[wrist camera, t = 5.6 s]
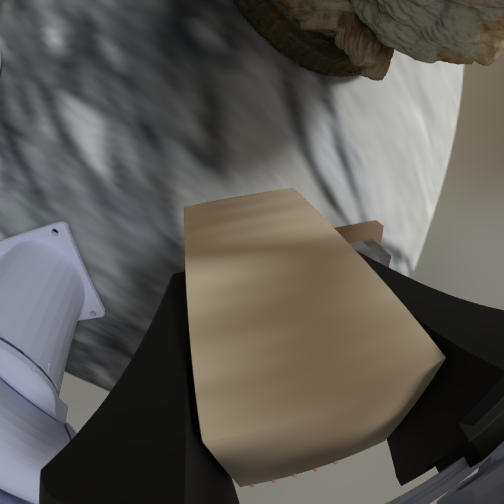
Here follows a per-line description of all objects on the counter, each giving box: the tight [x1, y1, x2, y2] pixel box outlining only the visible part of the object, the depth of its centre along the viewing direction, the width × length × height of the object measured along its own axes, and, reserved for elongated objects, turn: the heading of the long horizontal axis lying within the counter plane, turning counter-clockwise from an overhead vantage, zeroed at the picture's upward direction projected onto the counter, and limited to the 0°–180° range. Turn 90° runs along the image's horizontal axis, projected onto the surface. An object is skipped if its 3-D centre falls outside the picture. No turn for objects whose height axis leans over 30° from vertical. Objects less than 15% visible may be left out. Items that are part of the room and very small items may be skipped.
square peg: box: [184, 188, 446, 487], centre depth 8 cm, size 4×4×8 cm
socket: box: [334, 221, 391, 268], centre depth 21 cm, size 9×9×4 cm
